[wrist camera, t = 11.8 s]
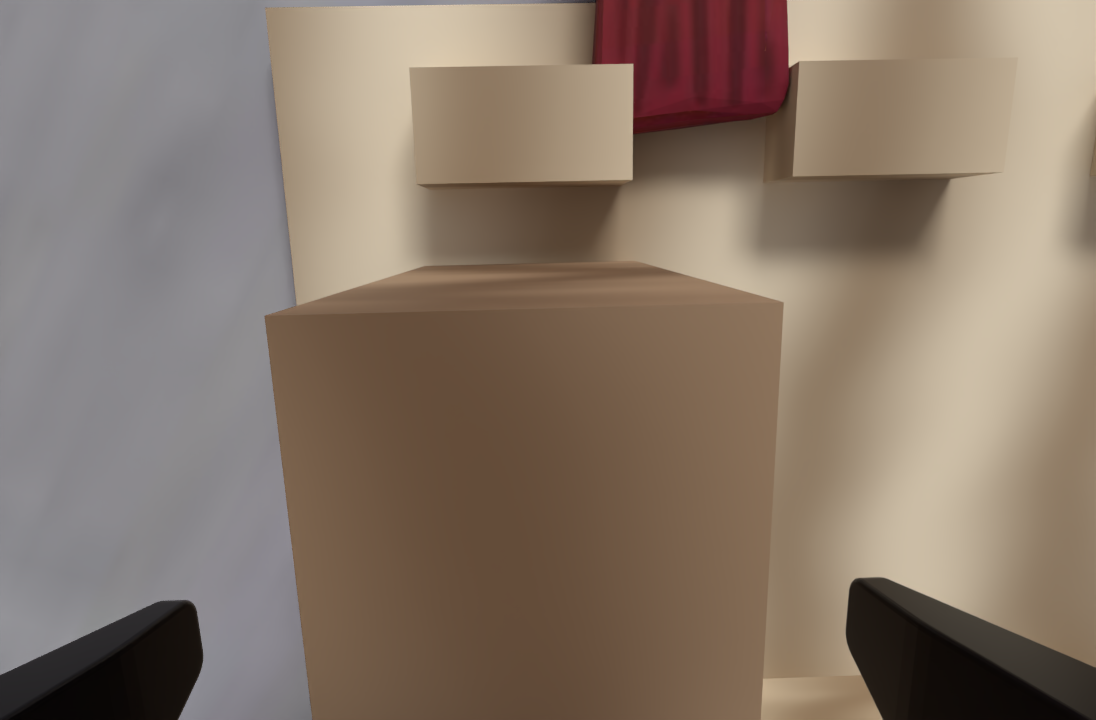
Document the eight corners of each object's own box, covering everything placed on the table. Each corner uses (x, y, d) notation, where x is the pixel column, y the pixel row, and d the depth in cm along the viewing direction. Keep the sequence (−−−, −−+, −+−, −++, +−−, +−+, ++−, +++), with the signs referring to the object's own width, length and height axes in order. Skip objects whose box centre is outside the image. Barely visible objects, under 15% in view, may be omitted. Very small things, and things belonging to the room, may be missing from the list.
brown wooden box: (634, 260, 13) (783, 301, 5) (632, 643, 15) (740, 1085, 7) (424, 265, 13) (265, 315, 5) (449, 650, 15) (358, 1105, 7)
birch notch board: (1387, 8, 13) (1636, -58, 10) (1213, 744, 17) (1358, 853, 14) (285, 24, 13) (209, -39, 10) (360, 777, 17) (322, 897, 14)
